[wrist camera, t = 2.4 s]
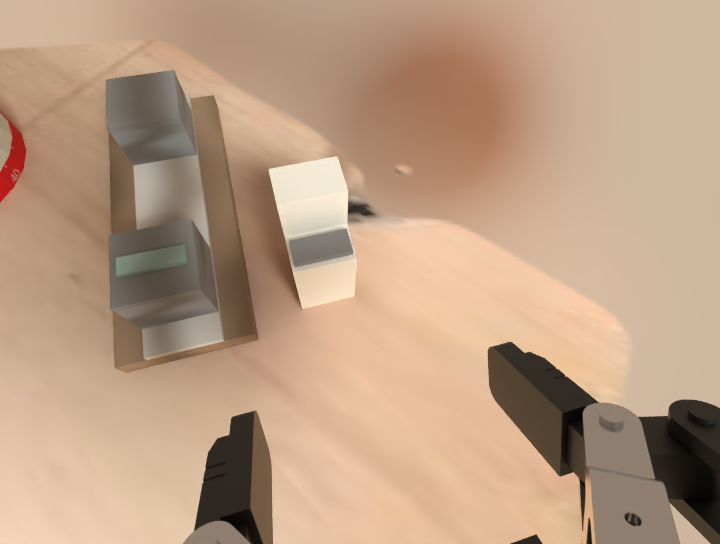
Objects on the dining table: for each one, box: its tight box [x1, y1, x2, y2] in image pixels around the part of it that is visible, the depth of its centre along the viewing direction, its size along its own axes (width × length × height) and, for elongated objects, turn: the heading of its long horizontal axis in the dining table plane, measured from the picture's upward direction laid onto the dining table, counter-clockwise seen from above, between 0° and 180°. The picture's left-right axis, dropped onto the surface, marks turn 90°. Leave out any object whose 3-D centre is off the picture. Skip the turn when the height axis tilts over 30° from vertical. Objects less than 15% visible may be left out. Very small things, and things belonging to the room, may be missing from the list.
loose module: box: [269, 156, 357, 309], centre depth 26 cm, size 4×5×10 cm
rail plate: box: [106, 70, 258, 372], centre depth 29 cm, size 9×23×6 cm, turn 15°
